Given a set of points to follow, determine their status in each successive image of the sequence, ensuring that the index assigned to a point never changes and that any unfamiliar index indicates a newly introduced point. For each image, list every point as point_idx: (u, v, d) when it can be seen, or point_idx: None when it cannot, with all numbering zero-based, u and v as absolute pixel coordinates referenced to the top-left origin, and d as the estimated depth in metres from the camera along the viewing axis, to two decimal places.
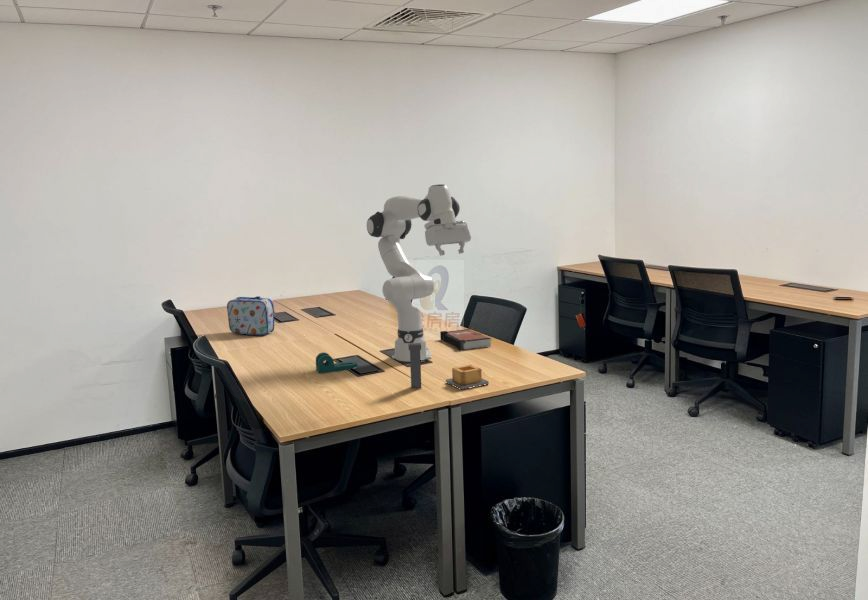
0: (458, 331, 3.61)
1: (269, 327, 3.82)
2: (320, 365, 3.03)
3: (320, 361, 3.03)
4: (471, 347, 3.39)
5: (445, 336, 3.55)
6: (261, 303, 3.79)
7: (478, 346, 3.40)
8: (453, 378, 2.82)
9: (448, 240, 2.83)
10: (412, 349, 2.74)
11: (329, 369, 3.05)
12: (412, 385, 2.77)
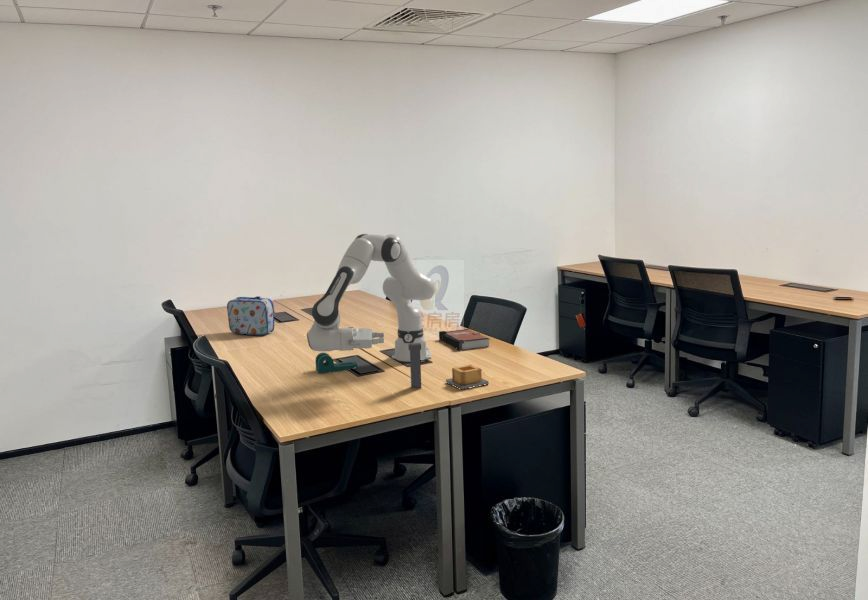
0: (457, 331, 3.61)
1: (269, 327, 3.82)
2: (320, 365, 3.03)
3: (320, 361, 3.03)
4: (469, 347, 3.39)
5: (444, 336, 3.55)
6: (261, 303, 3.79)
7: (476, 346, 3.40)
8: (453, 378, 2.82)
9: None
10: (412, 349, 2.74)
11: (328, 369, 3.05)
12: (412, 385, 2.77)
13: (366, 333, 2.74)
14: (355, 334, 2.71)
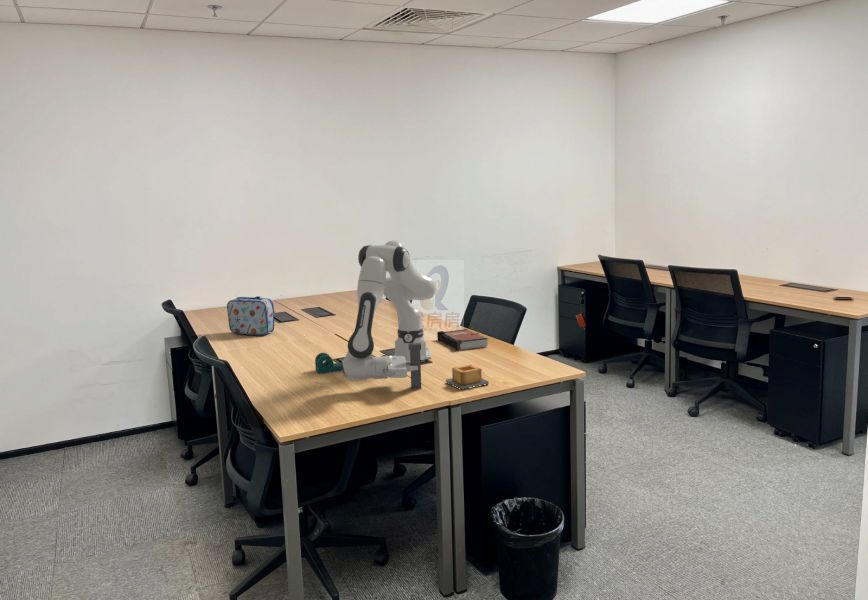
0: (455, 331, 3.60)
1: (269, 327, 3.82)
2: (320, 365, 3.03)
3: (320, 361, 3.03)
4: (468, 347, 3.39)
5: (442, 336, 3.55)
6: (261, 303, 3.79)
7: (475, 346, 3.40)
8: (453, 378, 2.82)
9: None
10: (412, 349, 2.74)
11: (328, 369, 3.05)
12: (412, 385, 2.77)
13: (400, 361, 2.77)
14: (389, 363, 2.74)
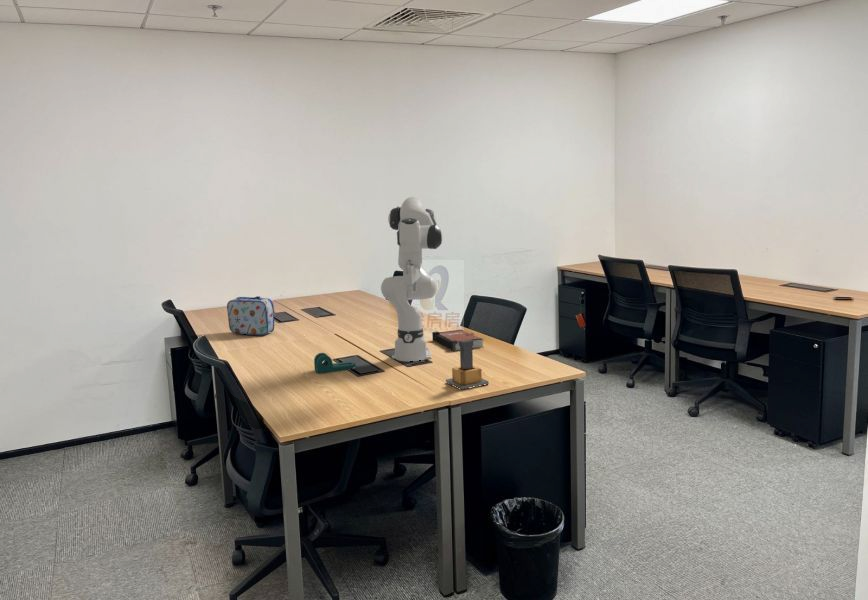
0: (450, 332, 3.60)
1: (269, 327, 3.82)
2: (319, 365, 3.03)
3: (319, 361, 3.03)
4: None
5: (437, 337, 3.54)
6: (261, 303, 3.79)
7: None
8: (453, 378, 2.82)
9: None
10: (465, 346, 2.77)
11: (327, 369, 3.05)
12: None
13: (416, 275, 2.82)
14: (415, 266, 2.78)
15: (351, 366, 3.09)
